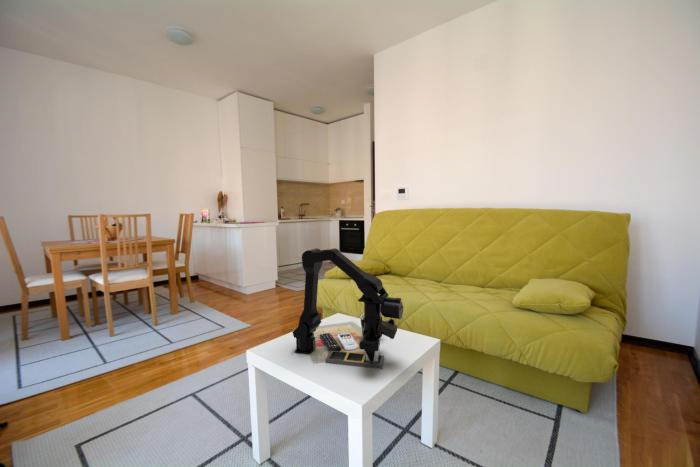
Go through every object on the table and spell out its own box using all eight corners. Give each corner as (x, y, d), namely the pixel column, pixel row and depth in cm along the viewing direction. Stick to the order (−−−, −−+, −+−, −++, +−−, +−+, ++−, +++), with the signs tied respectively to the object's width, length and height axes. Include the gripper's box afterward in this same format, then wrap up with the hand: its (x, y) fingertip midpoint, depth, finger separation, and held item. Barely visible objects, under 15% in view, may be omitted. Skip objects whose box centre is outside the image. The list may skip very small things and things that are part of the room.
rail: (325, 364, 104) (325, 358, 104) (330, 355, 110) (330, 350, 110) (382, 370, 100) (382, 364, 100) (384, 360, 106) (384, 355, 106)
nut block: (365, 365, 102) (365, 349, 102) (367, 359, 106) (367, 343, 106) (377, 366, 101) (377, 350, 101) (379, 360, 105) (379, 344, 105)
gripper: (394, 327, 92) (394, 375, 93) (397, 307, 110) (397, 347, 111) (358, 324, 94) (359, 371, 95) (367, 305, 112) (367, 345, 113)
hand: (372, 357), depth 104 cm, fingers closed on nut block, 4 cm apart
